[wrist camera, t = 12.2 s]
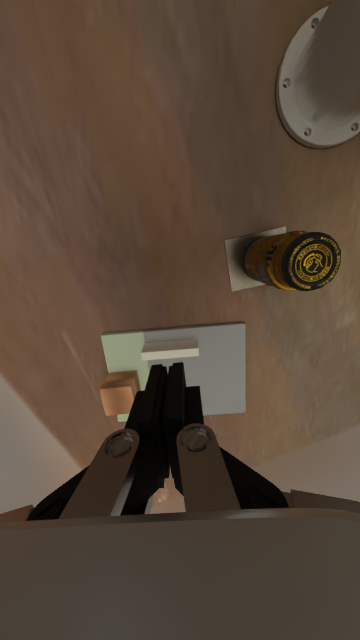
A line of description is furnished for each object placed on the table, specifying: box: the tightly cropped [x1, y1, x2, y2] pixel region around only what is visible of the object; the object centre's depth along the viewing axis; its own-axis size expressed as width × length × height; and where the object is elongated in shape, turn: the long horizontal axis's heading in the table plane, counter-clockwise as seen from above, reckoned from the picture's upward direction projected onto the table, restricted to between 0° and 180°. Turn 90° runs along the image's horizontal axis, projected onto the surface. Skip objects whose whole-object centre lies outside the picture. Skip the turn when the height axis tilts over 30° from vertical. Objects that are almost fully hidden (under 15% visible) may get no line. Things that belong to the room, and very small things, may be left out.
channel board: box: [101, 322, 246, 422], centre depth 34 cm, size 22×16×4 cm
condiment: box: [225, 226, 341, 292], centre depth 25 cm, size 7×8×12 cm
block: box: [99, 370, 141, 416], centre depth 33 cm, size 4×4×4 cm
